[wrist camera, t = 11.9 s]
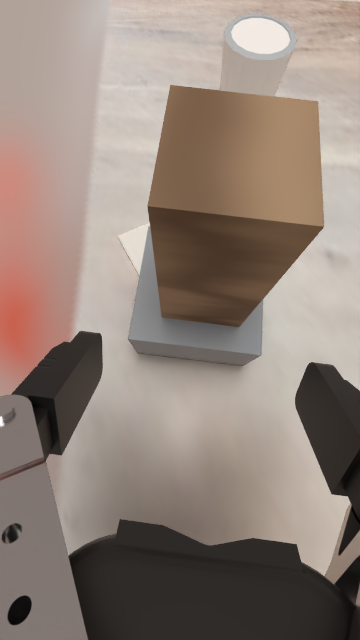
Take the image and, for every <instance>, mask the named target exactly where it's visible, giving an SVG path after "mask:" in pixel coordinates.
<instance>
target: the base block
mask: <svg viewBox="0 0 360 640" xmlns="http://www.w3.org/2000/svg"><path fill="white" fill-rule="evenodd" d="M262 315H263V300H262V301H261V302H260V303H259V304H258V306H257V307H256V308H255V309H254V310H253V312H252V313H251V314H250V315H249V316H248V318H247V319H246V320H245V321H244V322H243V323H242V325H241V326H240V327H235V326H226V325H218V324H210V323H202V322H194V321H185V320H177V319H169V318H162V316H161V308H160V300H159V292H158V285H157V277H156V269H155V261H154V253H153V245H152V237H151V229H150V226H148V231H147V237H146V242H145V248H144V253H143V259H142V264H141V270H140V275H139V281H138V287H137V292H136V298H135V303H134V309H133V314H132V320H131V325H130V331H129V336H128V340H129V341H130V343H131V344H132V346H133V347H134V349H135V350H136V352H137V353H142V354H150V355H159V356H167V357H175V358H183V359H191V360H200V361H208V362H216V363H224V364H233V365H241V366H243V365H245V364H247V363H249V362H250V361H252V360H254V359H256V358H257V357H259V356H261V352H262Z"/></svg>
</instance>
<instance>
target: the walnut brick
mask: <svg viewBox="0 0 360 640" xmlns="http://www.w3.org/2000/svg"><path fill="white" fill-rule="evenodd" d="M148 213H149V221H150V229H151V237H152V245H153V253H154V261H155V269H156V277H157V285H158V292H159V300H160V308H161V316H162V318H169V319H177V320H185V321H194V322H202V323H210V324H218V325H226V326H235V327H240V326H241V325H242V323H243V322H244V321H245V320H246V319H247V318H248V316H249V315H250V314H251V313H252V312H253V310H254V309H255V308H256V307H257V306H258V304H259V303H260V302H261V301H262V300H263V299H264V297H265V296H266V295H267V294H268V293H269V291H270V290H271V289H272V288H273V287H274V286H275V284H276V283H277V282H278V281H279V280H280V278H281V277H282V276H283V275H284V274H285V272H286V271H287V270H288V269H289V268H290V267H291V265H292V264H293V263H294V262H295V261H296V259H297V258H298V257H299V256H300V255H301V254H302V252H303V251H304V250H305V249H306V248H307V246H308V245H309V244H310V243H311V242H312V240H313V239H314V238H315V237H316V236H317V235H318V233H319V232H320V231H321V230H322V229H323V227H324V214H323V194H322V173H321V153H320V133H319V113H318V101H309V100H300V99H291V98H282V97H273V96H264V95H255V94H246V93H237V92H228V91H219V90H210V89H201V88H192V87H183V86H174V85H170V90H169V96H168V101H167V106H166V111H165V117H164V122H163V127H162V133H161V138H160V143H159V149H158V154H157V159H156V164H155V170H154V175H153V180H152V186H151V191H150V196H149V202H148Z"/></svg>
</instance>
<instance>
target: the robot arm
mask: <svg viewBox="0 0 360 640" xmlns="http://www.w3.org/2000/svg"><path fill="white" fill-rule="evenodd" d="M102 368H103V362H102V336H101V334H100V333H93V332H85V331H80V332H79V333H78V334H77V335H76V336H75V338H74V339H73V340H72V341H71V342H63V343H61V344H60V345H58V346H56V347H54V348H53V349H51V351H50V352H49V353H48V354H47V355H46V356H45V357H44V359H43V360H42V361H41V362H40V363H39V364H38V366H37V367H35V368H34V370H33V371H32V372H31V373H30V374H29V375H28V376H27V377H26V378H25V380H24V381H23V382H22V383H21V384H20V385H19V386H18V388H16V390H15V391H14V392H13V393H12V394H11V395H5V396H0V640H360V391H359V390H358V389H357V388H355V387H354V386H353V385H352V384H350V383H349V382H348V381H347V380H344V379H343V378H342V376H341V375H340V374H339V372H338V371H337V369H336V368H335V367H334V366H333V365H329V364H321V363H314V362H311V363H309V364H308V366H307V368H306V370H305V373H304V375H303V378H302V380H301V383H300V385H299V388H298V390H297V393H296V397H295V405H296V409H297V412H298V414H299V417H300V419H301V422H302V424H303V426H304V429H305V431H306V434H307V436H308V438H309V441H310V443H311V446H312V448H313V451H314V453H315V455H316V458H317V460H318V463H319V465H320V467H321V470H322V472H323V475H324V477H325V479H326V482H327V484H328V487H329V489H330V491H331V494H334V495H342V496H348V498H349V500H350V502H351V503H350V505H349V506H348V508H347V510H346V513H345V516H344V520H343V523H342V526H341V530H340V533H339V537H338V540H337V543H336V547H335V550H334V553H333V557H332V560H331V563H330V565H329V568H328V570H327V572H326V574H325V576H323V575H322V574H320V573H319V572H318V571H316V570H314V569H313V568H311V567H309V566H308V565H306V564H304V563H302V562H301V560H300V556H299V552H298V548H297V544H290V543H283V542H276V541H269V540H262V539H255V538H251V539H246V540H240V541H235V542H229V543H224V544H218V545H212V546H209V545H205V544H202V543H200V542H198V541H196V540H193V539H191V538H189V537H187V536H185V535H183V534H181V533H178V532H176V531H174V530H172V529H170V528H168V527H165V526H163V525H156V524H149V523H142V522H135V521H128V520H121V519H120V522H119V526H118V530H117V534H113V535H108V536H105V537H102V538H99V539H96V540H94V541H92V542H90V543H87V544H85V545H84V546H82V547H81V548H79V549H77V550H76V551H74V552H73V553H72V554H70V555H69V556H68V553H67V549H66V544H65V540H64V536H63V532H62V527H61V523H60V519H59V515H58V510H57V506H56V502H55V498H54V493H53V489H52V485H51V481H50V477H49V472H48V469H47V464H46V459H47V457H48V455H49V454H56V455H62V454H63V452H64V450H65V448H66V446H67V444H68V442H69V440H70V438H71V436H72V434H73V432H74V430H75V428H76V426H77V424H78V422H79V421H80V419H81V417H82V415H83V413H84V411H85V409H86V407H87V405H88V403H89V401H90V399H91V397H92V395H93V393H94V391H95V389H96V387H97V385H98V383H99V381H100V378H101V375H102Z"/></svg>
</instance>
